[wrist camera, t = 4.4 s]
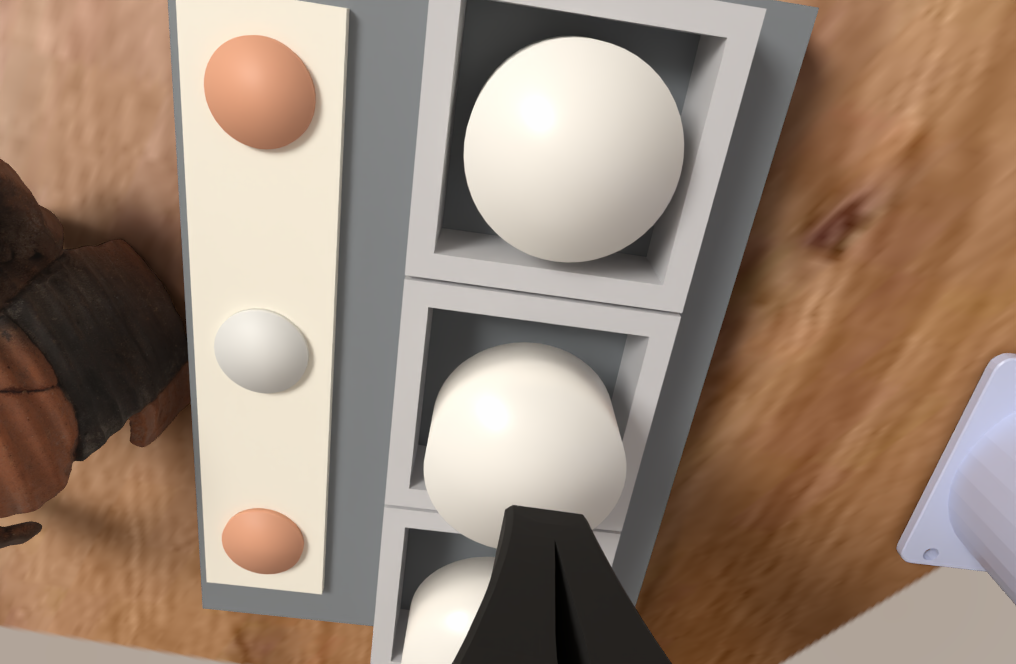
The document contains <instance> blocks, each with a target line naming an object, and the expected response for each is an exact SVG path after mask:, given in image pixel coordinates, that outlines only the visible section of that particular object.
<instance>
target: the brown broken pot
mask: <svg viewBox="0 0 1016 664" xmlns="http://www.w3.org/2000/svg"><path fill="white" fill-rule="evenodd" d="M63 232H64V230H63V226H62V224H61V222H60V221H59V220H58V219H57V217H56V216H55V215H54V214H53V213H52V212H51V211H49V210H48V209H46V208H44V207H42V206H40V205H39V204H38V203H37V201H36V199H35V198H34V196H33V195H32V193H31V191H30V190H29V189H28V188H27V186H26V185H25V184H24V183H23V181H22V180H21V179H20V177H19V176H18V174H17V173H16V172H15V171H14V169H12V168H11V166H10V165H9V164H7V163H6V162H4V161H3V160H1V159H0V518H3V517H8V516H11V515H15V514H21V513H28V512H32V511H35V510H37V509H39V508H40V507H41V506H42V505H43V504H44V503H45V502H46V501H48V500H50V499H51V498H53V497H55V496H56V495H57V494H58V493H59V492H60V491H61V490H63V489H64V488H65V486H66V485H67V483H68V479H69V475H70V472H71V470H72V463H73V462H74V461H84V460H85V459H86V458H87V457H88V456H89V455H90V454H92V453H93V452H95V451H96V450H98V449H99V448H100V447H101V446H103V445H104V444H105V443H106V441H107V439H108V438H109V437H110V436H112V435H113V434H114V433H116V432H117V431H119V430H120V429H121V428H122V427H123V426H124V424H125V422H126V421H127V420H128V419H129V420H130V426H131V430H130V431H131V436H130V442H131V443H132V444H134V445H136V446H139V447H145V446H147V445H149V444H150V443H151V442H153V441H154V440H155V439H156V438H157V437H159V436H160V435H161V433H162V432H163V431H164V430H165V429H166V428H167V427H168V426H169V424H170V423H171V422H172V421H173V420H174V419H175V417H176V416H177V414H178V413H179V412H180V411H181V410H182V409H183V408H185V407H186V406H187V405H188V404H189V403H190V402H191V395H190V377H189V360H188V342H187V338H186V335H185V332H184V325H183V321H182V319H181V318H180V316H179V315H178V313H177V312H176V310H175V308H174V306H173V303H172V301H171V298H170V296H169V294H168V292H167V291H166V290H165V288H164V286H163V284H162V283H161V281H160V280H159V278H158V277H157V276H156V275H155V274H154V273H153V272H152V271H151V270H150V269H149V267H148V265H147V264H146V263H145V262H144V260H143V259H142V258H141V257H140V256H139V255H138V254H137V253H136V252H135V251H134V250H133V248H132V247H130V246H129V245H128V244H127V243H126V242H125V241H124V240H120V239H116V240H112V241H109V242H106V243H103V244H101V245H98V246H95V247H93V246H84V247H80V248H78V249H63V240H64V233H63ZM41 529H42V525H41V524H39V523H37V522H24V523H20V524H16V525H11V526H7V527H1V526H0V548H3V547H7V546H10V545H17V544H22V543H25V542H26V541H28V540H30V539H31V538H32V537H34V536H35V535H36V534H38V533H39V532H40V531H41Z"/></svg>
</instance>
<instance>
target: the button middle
mask: <svg viewBox="0 0 1016 664" xmlns="http://www.w3.org/2000/svg"><path fill="white" fill-rule="evenodd" d="M625 479H626V456H625V451H624V447H623V444H622V440H621V436H620V432H619V429H618V425H617V421H616V418H615V414H614V410H613V406H612V403H611V400H610V396H609V393H608V391H607V389H606V387H605V385H604V384H603V382H602V381H601V379H600V378H599V376H598V375H597V374H596V373H595V372H594V371H593V370H592V368H591V367H589V366H588V365H587V364H586V363H585V362H583V361H582V360H581V359H579V358H577V357H576V356H574V355H573V354H571V353H568V352H566V351H564V350H562V349H559V348H556V347H553V346H550V345H545V344H539V343H528V342H521V343H509V344H503V345H499V346H495V347H492V348H488V349H486V350H484V351H481V352H479V353H477V354H475V355H474V356H472V357H470V358H468V359H467V360H466V361H464V362H463V363H462V364H460V365H459V366H458V367H457V368H456V369H455V370H454V371H453V372H452V373H451V374H450V375H449V377H448V378H447V379H446V381H445V382H444V383H443V385H442V387H441V389H440V391H439V393H438V396H437V398H436V401H435V405H434V410H433V416H432V421H431V426H430V432H429V437H428V442H427V448H426V453H425V459H424V480H425V485H426V489H427V492H428V495H429V497H430V499H431V501H432V504H433V505H434V507H435V508H436V510H437V511H438V513H439V514H440V515H441V516H442V517H443V519H444V520H445V521H446V522H447V523H448V524H449V525H451V526H452V527H453V528H454V529H455V530H457V531H458V532H460V533H461V534H462V535H464V536H466V537H468V538H470V539H471V540H473V541H475V542H478V543H480V544H483V545H486V546H489V547H493V548H496V549H497V546H498V541H499V536H500V531H501V527H502V522H503V517H504V512H505V509H507V508H508V507H510V506H512V505H518V506H525V507H533V508H540V509H547V510H555V511H562V512H570V513H577V514H583V515H584V517H585V518H586V519H587V521H588V523H589V525H590V527H591V529H592V530H593V529H594V528H596V527H597V526H598V525H599V524H600V523H601V522H602V521H603V520H604V519H605V518H606V517H607V516H608V515H609V514H610V512H611V511H612V510H613V508H614V507H615V505H616V504H617V502H618V500H619V498H620V496H621V493H622V490H623V488H624V484H625Z"/></svg>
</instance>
